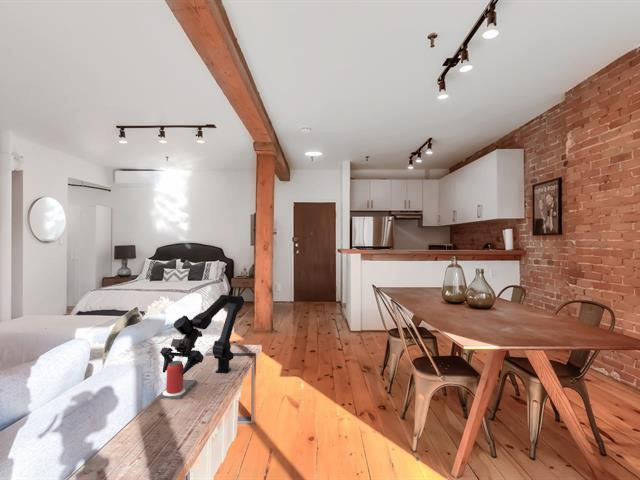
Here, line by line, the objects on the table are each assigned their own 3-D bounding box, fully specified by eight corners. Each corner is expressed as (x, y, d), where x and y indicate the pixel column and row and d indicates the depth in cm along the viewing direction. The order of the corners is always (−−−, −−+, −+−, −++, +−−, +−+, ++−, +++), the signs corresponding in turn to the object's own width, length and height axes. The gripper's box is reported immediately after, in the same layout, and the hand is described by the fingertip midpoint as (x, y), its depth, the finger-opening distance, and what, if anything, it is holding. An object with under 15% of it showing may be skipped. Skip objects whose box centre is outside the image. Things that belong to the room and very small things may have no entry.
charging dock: (178, 381, 159) (178, 378, 159) (197, 382, 159) (197, 379, 159) (158, 399, 140) (158, 395, 141) (179, 399, 140) (180, 396, 140)
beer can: (172, 395, 141) (173, 366, 141) (162, 391, 144) (163, 363, 144) (186, 390, 146) (187, 362, 146) (176, 386, 150) (177, 359, 150)
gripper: (163, 329, 152) (144, 361, 141) (200, 332, 147) (184, 366, 136) (174, 342, 159) (157, 374, 148) (210, 345, 155) (195, 378, 144)
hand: (172, 373), depth 144 cm, fingers open, 9 cm apart
